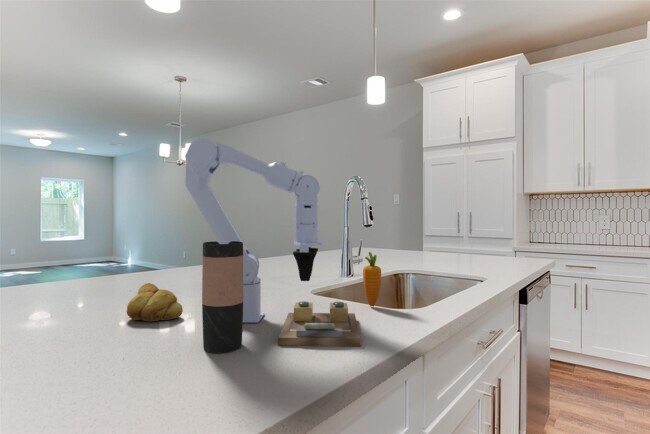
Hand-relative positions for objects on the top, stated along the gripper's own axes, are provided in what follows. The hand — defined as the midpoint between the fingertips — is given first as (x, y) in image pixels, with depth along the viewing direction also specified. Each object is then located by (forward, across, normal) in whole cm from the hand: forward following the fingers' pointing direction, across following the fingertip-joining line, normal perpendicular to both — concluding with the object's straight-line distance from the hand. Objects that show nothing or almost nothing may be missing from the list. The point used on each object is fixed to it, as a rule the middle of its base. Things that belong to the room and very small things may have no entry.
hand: (305, 278), depth 93 cm
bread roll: (+10, -3, +36) cm, 38 cm away
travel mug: (+10, -22, +14) cm, 28 cm away
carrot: (+10, +10, -18) cm, 22 cm away
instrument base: (+9, -12, -4) cm, 15 cm away
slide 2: (+8, -8, -8) cm, 13 cm away
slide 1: (+8, -8, 0) cm, 11 cm away
